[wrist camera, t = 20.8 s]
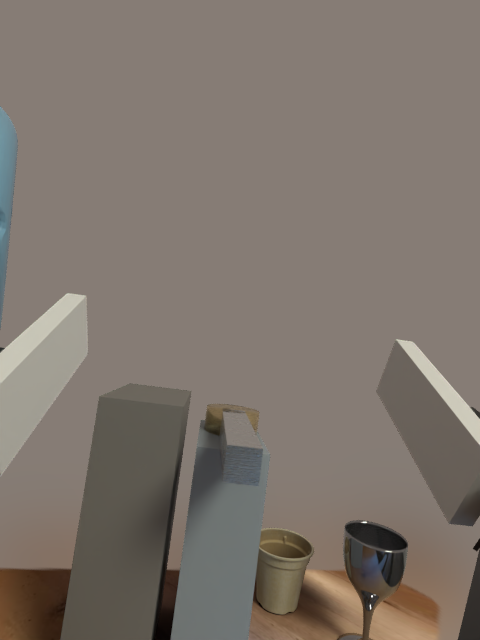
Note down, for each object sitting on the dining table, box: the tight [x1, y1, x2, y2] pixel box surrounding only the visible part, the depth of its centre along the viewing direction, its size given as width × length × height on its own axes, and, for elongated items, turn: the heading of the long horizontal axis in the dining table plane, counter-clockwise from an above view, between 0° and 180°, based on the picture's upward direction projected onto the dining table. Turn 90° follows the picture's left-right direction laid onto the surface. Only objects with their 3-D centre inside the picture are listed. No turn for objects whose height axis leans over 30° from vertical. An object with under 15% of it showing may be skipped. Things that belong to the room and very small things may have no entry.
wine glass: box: [337, 520, 408, 640], centre depth 49 cm, size 8×8×15 cm
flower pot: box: [256, 528, 314, 615], centre depth 57 cm, size 9×9×9 cm
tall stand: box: [60, 384, 191, 640], centre depth 46 cm, size 9×15×30 cm, turn 4°
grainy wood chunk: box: [204, 404, 263, 486], centre depth 42 cm, size 7×23×3 cm, turn 4°
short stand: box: [171, 420, 270, 640], centre depth 47 cm, size 8×15×26 cm, turn 4°
